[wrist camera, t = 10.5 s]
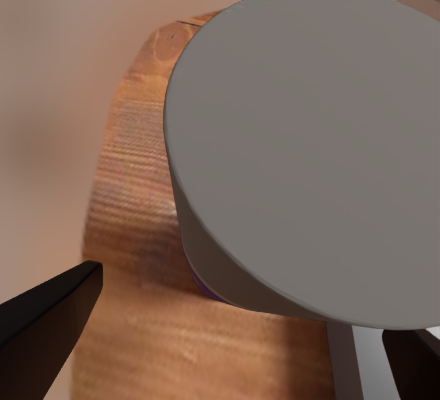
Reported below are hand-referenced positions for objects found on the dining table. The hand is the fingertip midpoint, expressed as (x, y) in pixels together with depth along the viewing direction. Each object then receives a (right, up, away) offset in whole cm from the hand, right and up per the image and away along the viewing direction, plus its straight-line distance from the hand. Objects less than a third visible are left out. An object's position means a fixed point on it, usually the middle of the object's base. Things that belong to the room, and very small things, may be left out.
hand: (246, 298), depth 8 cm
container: (0, -1, +9) cm, 9 cm away
